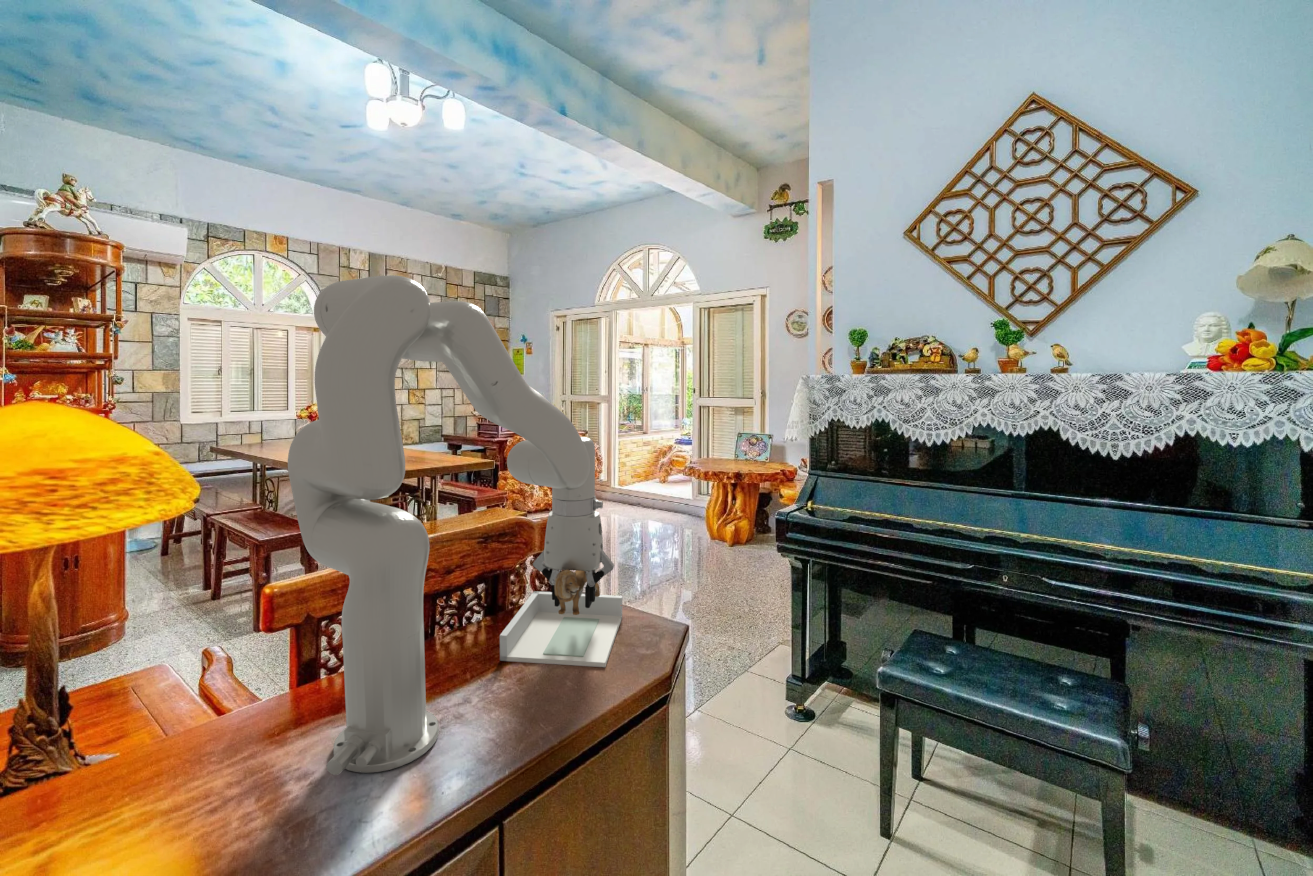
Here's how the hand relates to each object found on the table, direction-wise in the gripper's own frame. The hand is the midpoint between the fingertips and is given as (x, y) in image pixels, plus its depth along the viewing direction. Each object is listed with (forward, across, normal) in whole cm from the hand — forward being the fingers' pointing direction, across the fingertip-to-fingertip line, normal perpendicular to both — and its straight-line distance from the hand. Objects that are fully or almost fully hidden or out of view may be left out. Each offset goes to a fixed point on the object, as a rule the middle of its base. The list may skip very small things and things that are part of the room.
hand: (573, 603), depth 108 cm
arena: (+7, +2, -1) cm, 7 cm away
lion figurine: (+1, -1, -1) cm, 2 cm away
